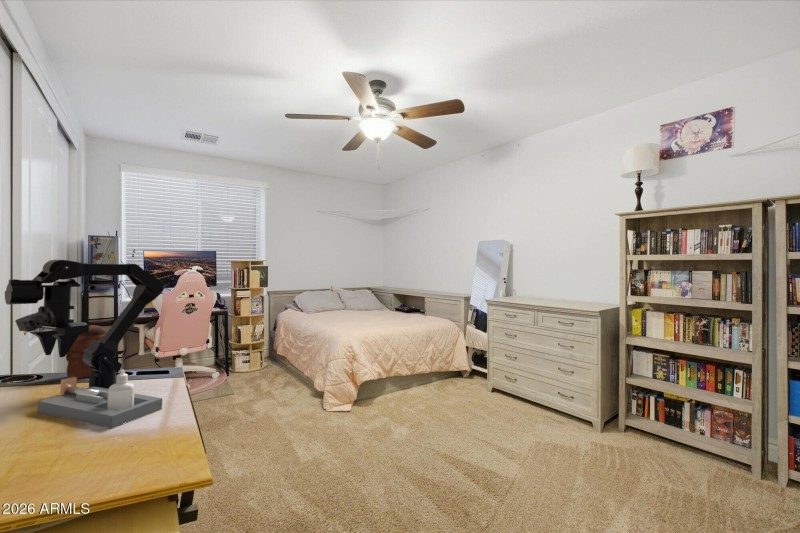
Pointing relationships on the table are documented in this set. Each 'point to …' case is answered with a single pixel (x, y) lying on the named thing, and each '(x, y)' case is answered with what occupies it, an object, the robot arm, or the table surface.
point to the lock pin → (70, 387)
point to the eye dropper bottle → (120, 393)
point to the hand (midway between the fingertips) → (55, 356)
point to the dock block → (97, 408)
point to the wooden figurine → (76, 352)
